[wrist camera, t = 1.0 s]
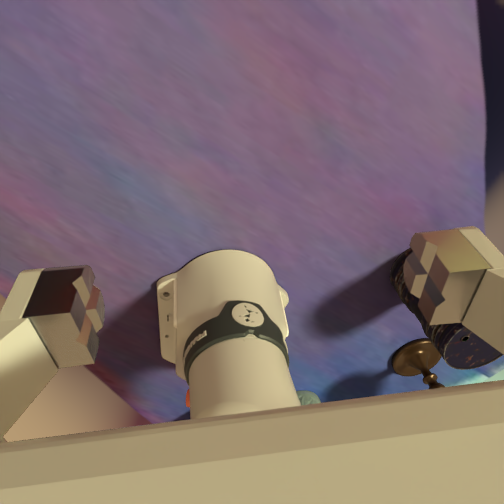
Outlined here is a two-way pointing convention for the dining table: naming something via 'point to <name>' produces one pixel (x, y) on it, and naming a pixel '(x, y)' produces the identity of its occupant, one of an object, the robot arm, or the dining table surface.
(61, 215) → the dining table surface
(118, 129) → the dining table surface
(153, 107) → the dining table surface
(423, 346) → the candlestick
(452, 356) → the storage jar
